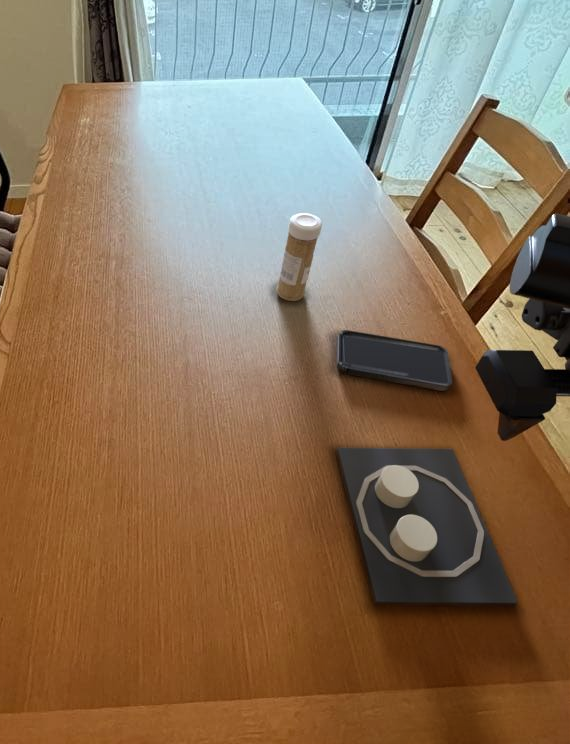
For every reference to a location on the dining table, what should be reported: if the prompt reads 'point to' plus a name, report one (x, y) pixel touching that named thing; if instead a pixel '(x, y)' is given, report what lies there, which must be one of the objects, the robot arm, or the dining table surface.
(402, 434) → the dining table surface
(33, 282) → the dining table surface
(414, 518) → the cream round box
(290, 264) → the sprinkles bottle
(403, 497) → the white round puck
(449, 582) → the slate
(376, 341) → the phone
